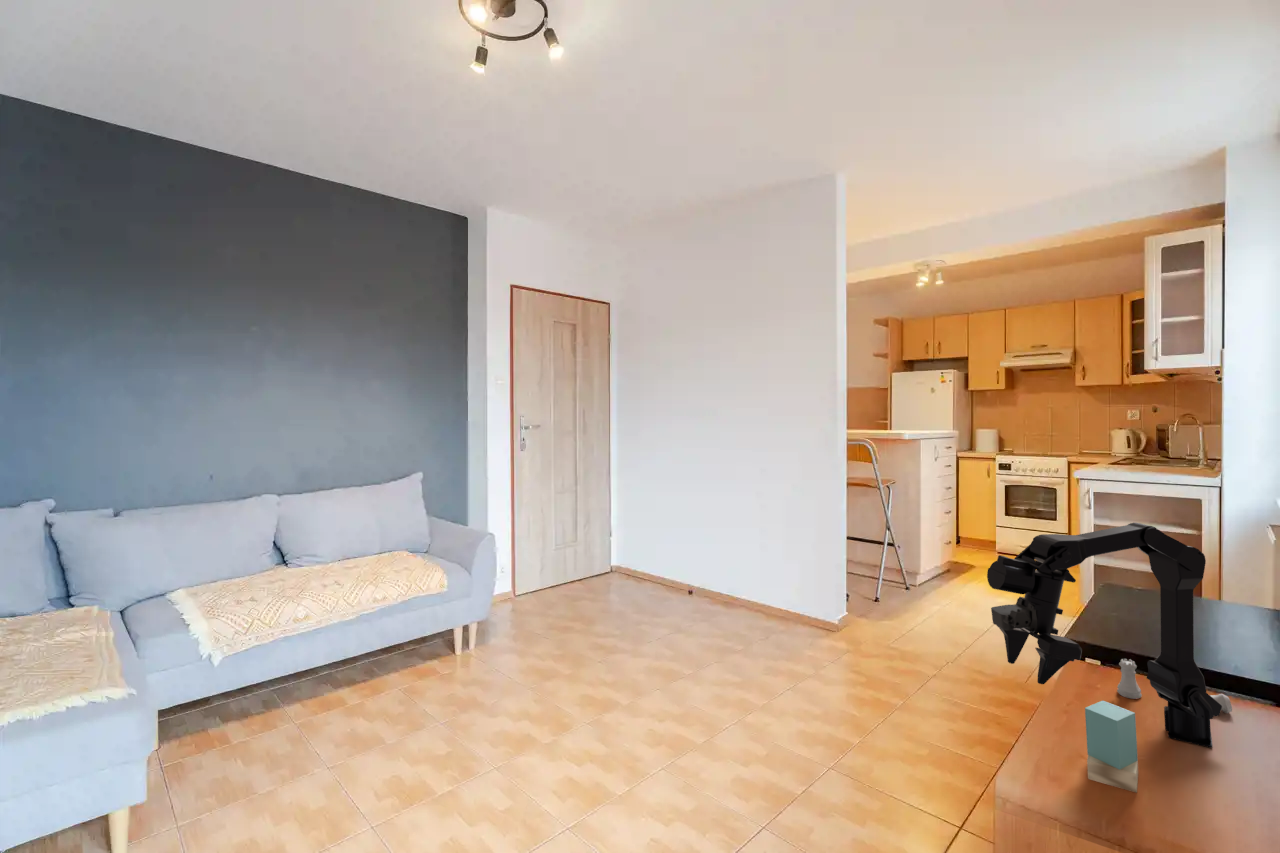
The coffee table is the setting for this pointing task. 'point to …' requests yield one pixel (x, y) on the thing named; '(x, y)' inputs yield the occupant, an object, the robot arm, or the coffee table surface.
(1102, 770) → the post pedestal
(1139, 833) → the coffee table surface
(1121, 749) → the teal square top
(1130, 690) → the rook chess piece
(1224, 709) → the smooth white sculpture
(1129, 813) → the coffee table surface
